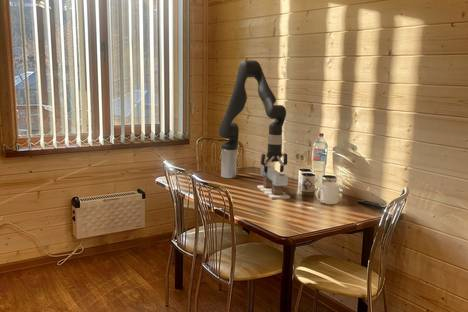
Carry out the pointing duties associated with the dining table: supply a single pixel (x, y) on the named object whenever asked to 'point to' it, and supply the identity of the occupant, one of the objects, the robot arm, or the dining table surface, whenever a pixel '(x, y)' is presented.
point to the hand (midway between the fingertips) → (273, 172)
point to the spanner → (275, 176)
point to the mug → (328, 193)
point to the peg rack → (272, 190)
